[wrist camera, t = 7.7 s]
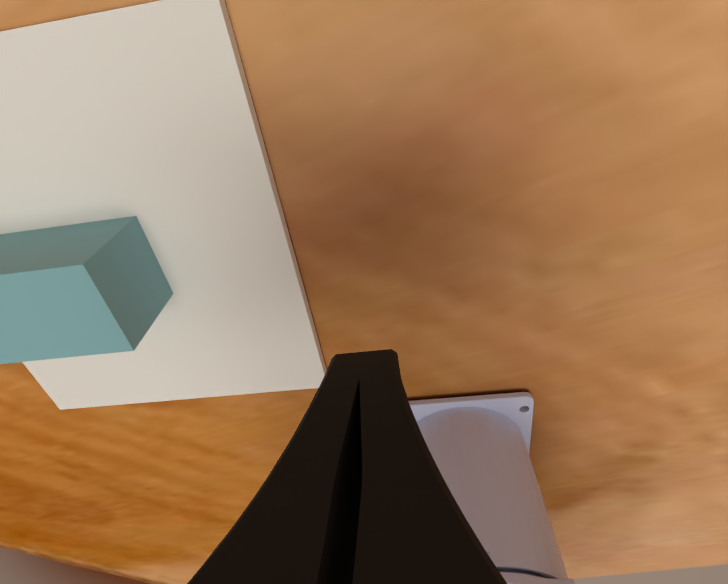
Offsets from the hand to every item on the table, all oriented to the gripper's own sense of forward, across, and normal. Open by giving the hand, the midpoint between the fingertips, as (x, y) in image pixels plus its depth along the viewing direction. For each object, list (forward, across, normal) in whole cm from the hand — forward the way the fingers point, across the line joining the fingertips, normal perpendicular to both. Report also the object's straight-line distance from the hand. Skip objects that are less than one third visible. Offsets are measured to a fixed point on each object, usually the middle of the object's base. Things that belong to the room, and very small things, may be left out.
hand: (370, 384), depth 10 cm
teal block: (+8, +10, +1) cm, 13 cm away
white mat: (+10, +12, +1) cm, 16 cm away
